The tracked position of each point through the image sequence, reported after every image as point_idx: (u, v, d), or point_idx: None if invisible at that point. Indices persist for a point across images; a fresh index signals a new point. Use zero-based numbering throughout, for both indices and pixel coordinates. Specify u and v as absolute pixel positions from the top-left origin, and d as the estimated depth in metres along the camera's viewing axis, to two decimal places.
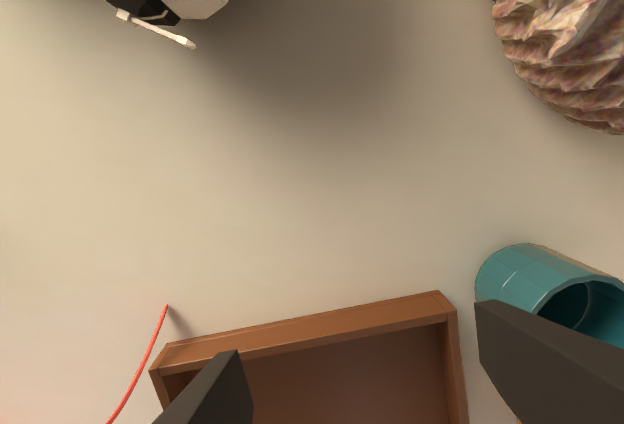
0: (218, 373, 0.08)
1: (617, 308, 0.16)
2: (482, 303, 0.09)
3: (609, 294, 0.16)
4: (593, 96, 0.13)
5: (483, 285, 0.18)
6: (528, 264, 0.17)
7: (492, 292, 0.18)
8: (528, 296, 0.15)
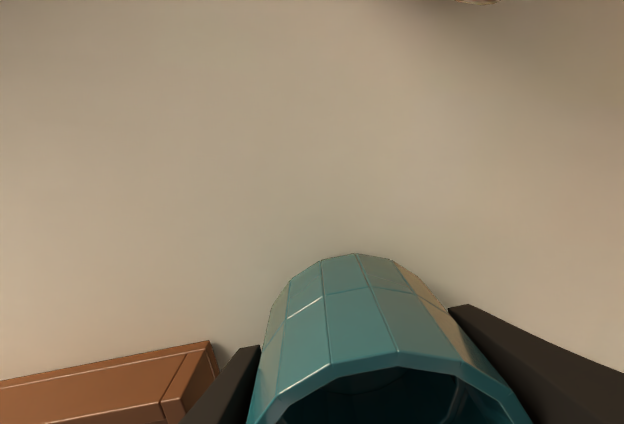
0: (243, 368, 0.08)
1: (496, 417, 0.06)
2: (455, 308, 0.09)
3: None
4: None
5: None
6: (309, 305, 0.07)
7: None
8: (259, 396, 0.06)
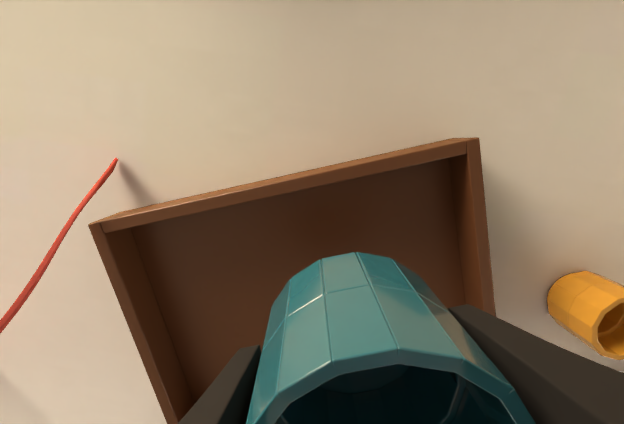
0: (244, 368, 0.08)
1: (497, 415, 0.06)
2: (455, 308, 0.09)
3: None
4: None
5: None
6: (310, 303, 0.07)
7: None
8: (259, 393, 0.06)
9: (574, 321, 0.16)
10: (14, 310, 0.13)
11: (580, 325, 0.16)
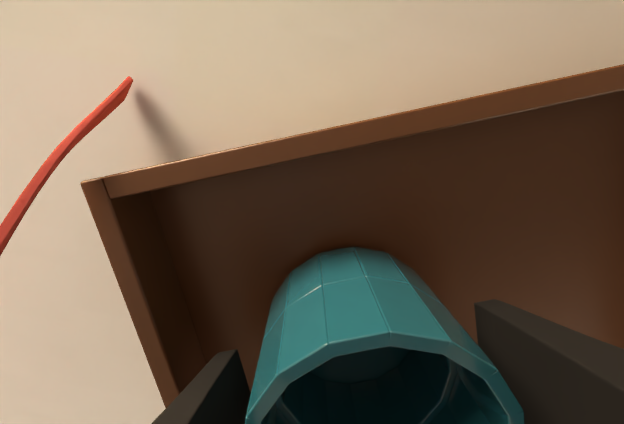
0: (218, 373, 0.08)
1: (484, 398, 0.07)
2: (482, 303, 0.09)
3: None
4: None
5: None
6: (308, 293, 0.08)
7: None
8: (261, 376, 0.06)
9: None
10: None
11: None
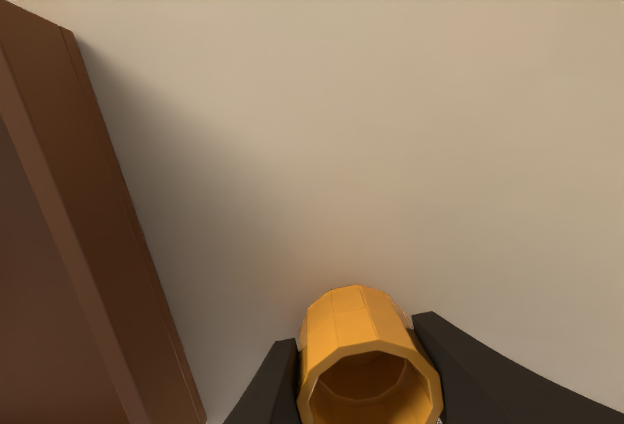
0: (285, 360, 0.08)
1: None
2: (418, 315, 0.09)
3: None
4: None
5: None
6: None
7: None
8: None
9: None
10: None
11: None
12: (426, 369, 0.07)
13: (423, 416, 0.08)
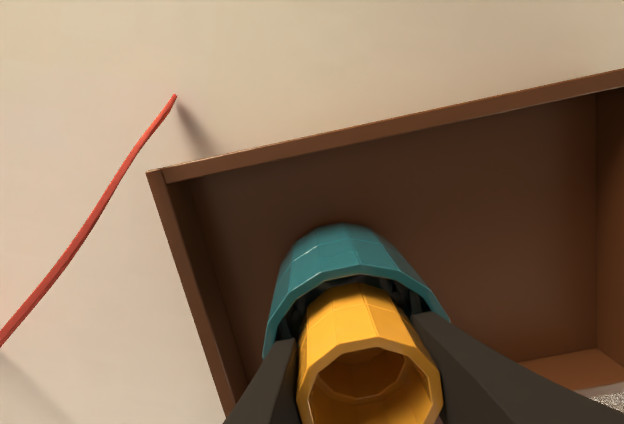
0: (286, 360, 0.08)
1: None
2: (418, 315, 0.09)
3: (421, 297, 0.10)
4: None
5: None
6: (308, 251, 0.11)
7: None
8: (276, 300, 0.09)
9: None
10: (50, 281, 0.10)
11: None
12: (426, 366, 0.07)
13: (423, 413, 0.08)
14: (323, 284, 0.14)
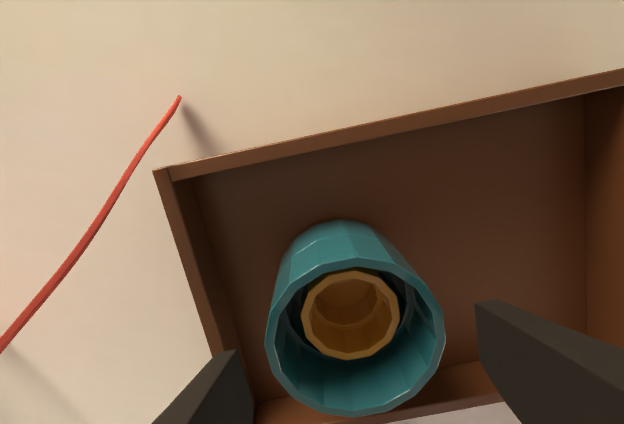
0: (218, 373, 0.08)
1: (423, 310, 0.10)
2: (482, 303, 0.09)
3: (415, 289, 0.11)
4: None
5: None
6: (308, 246, 0.11)
7: None
8: (278, 292, 0.10)
9: None
10: (62, 274, 0.10)
11: None
12: (387, 291, 0.11)
13: (387, 327, 0.11)
14: None
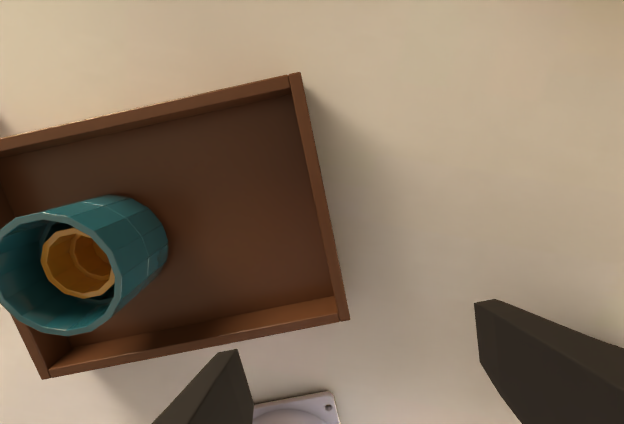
0: (218, 374, 0.08)
1: None
2: (482, 303, 0.09)
3: None
4: None
5: None
6: None
7: None
8: None
9: None
10: None
11: None
12: None
13: None
14: None
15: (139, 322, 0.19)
